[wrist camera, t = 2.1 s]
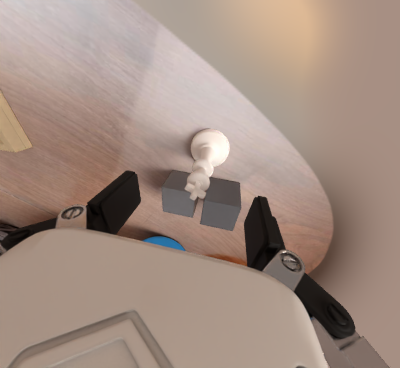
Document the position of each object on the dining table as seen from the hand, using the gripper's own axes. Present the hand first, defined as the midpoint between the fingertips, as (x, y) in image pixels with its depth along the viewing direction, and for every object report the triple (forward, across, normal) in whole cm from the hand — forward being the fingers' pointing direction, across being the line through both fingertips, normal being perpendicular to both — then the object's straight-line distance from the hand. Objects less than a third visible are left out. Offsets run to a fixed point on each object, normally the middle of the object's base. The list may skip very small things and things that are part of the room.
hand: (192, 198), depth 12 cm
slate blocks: (+10, 0, +6) cm, 11 cm away
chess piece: (+10, 0, -1) cm, 10 cm away
